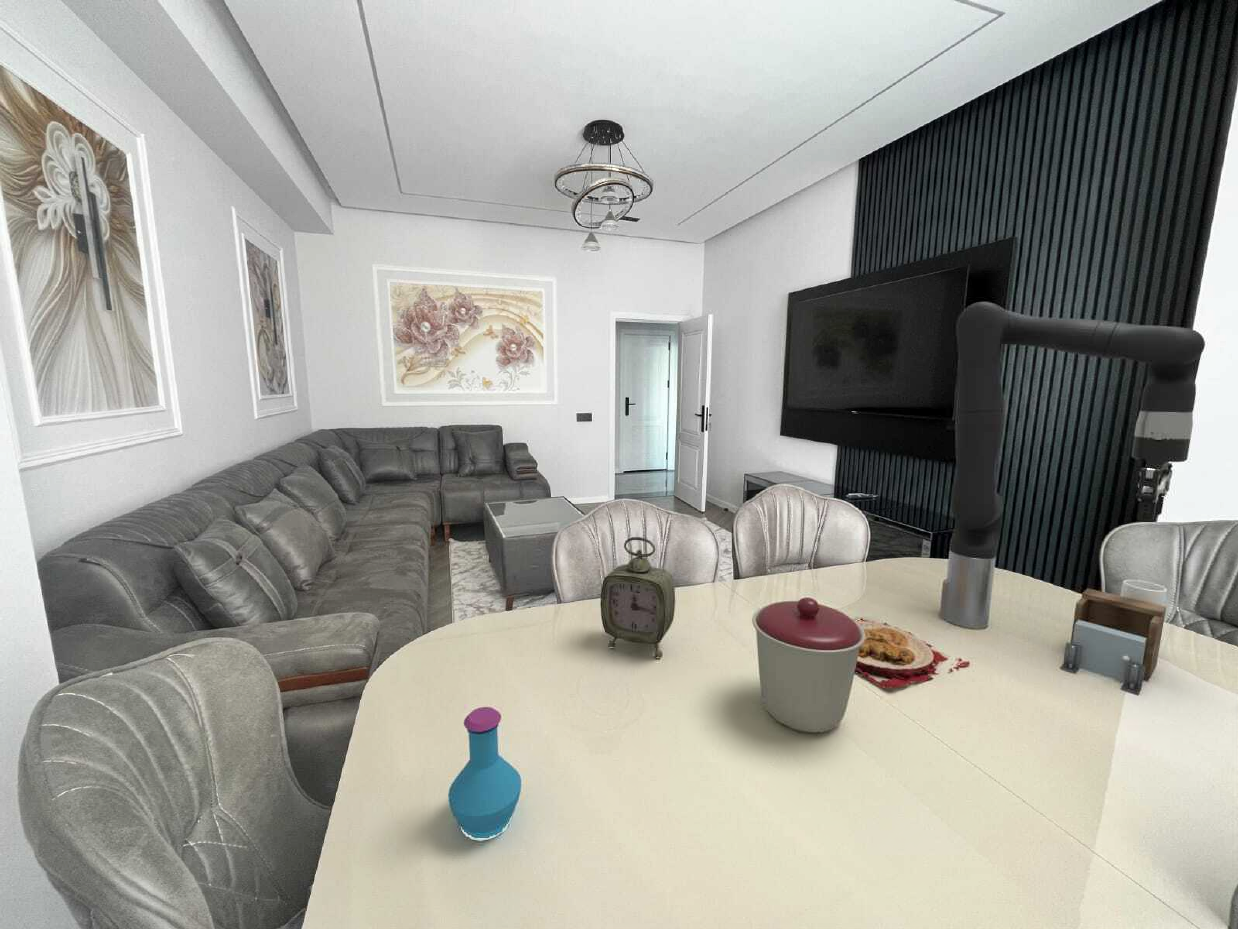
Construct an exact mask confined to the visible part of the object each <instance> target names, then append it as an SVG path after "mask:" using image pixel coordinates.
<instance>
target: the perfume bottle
mask: <svg viewBox="0 0 1238 929" xmlns="http://www.w3.org/2000/svg"><path fill="white" fill-rule="evenodd" d="M501 720H502V715H501V713H500V712H499V711H498V710H497V709H495V708H493V707H491V706H480V707H478V708H475V709H474V710H472V711H470V712H469V714H468V715H467V716H466V717H465V718H464V720H463V726H464V727H465V728H466V730H467V733H468V744H469V746H468V747H469V748H468V749H469V760H468V761H467V763H466V764H465V765H464V767H463V768H462V769H461V770H460V772H459V773H458V775H457V776H456V777H455V778H454V780H453V781H452V783H451V785H450V787H449V789H448V803H449V804H448V805H449V808H450V810H451V812H452V815H453V816H454V818H455V819H456V822H457V824H458V825H459V827H460V828H461V827H462V829H463V830H464V832H466V833H467V834H468V835H471V836H472V837H474V838H489V837H490V836H493V835H497V834H498V833H500V832H502V830H503V828H505V827H506V825H507V824H508V823H509V821H510V818H511V816H512V817H513V814H514V812H515V810H516V807H517V804H518V802H519V799H520V795H521V790H522V778H521V775H520V773H519V771H518V770H517V769H515V767H514V766H513V765H511V764H510V763H509V762H508V761H507V760H505V759H504V757H502V756H501V755H500V754H499V740H498V739H499V738H498V737H499V736H498V728H499V723H500V722H501Z"/></svg>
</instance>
